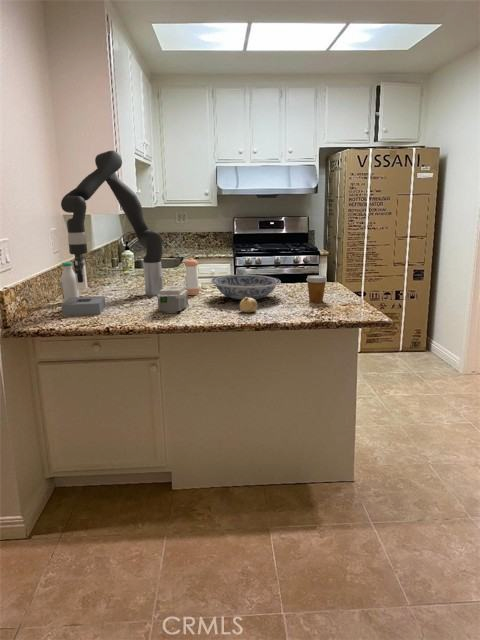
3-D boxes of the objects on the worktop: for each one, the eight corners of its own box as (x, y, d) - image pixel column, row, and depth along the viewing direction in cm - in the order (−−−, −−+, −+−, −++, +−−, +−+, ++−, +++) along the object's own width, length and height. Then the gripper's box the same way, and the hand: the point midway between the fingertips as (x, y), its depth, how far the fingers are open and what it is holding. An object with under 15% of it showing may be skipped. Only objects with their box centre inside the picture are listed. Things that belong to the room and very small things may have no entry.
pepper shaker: (197, 296, 237) (195, 259, 232) (183, 295, 238) (181, 258, 233) (201, 293, 244) (199, 257, 239) (188, 292, 245) (186, 257, 240)
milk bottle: (83, 301, 229) (78, 261, 224) (72, 304, 222) (68, 263, 217) (70, 300, 231) (65, 261, 226) (59, 304, 224) (55, 263, 219)
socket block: (105, 306, 217) (104, 296, 216) (100, 314, 202) (99, 303, 201) (70, 307, 215) (69, 297, 214) (62, 316, 200) (61, 305, 199)
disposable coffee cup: (328, 300, 222) (329, 275, 219) (323, 304, 214) (323, 278, 210) (309, 298, 226) (309, 274, 223) (303, 302, 217) (303, 277, 214)
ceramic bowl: (283, 306, 212) (284, 284, 209) (209, 307, 211) (209, 286, 209) (277, 291, 245) (277, 272, 242) (213, 292, 245) (212, 274, 242)
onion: (239, 310, 206) (239, 294, 204) (257, 309, 206) (257, 294, 204) (239, 314, 198) (239, 298, 196) (257, 314, 198) (257, 298, 196)
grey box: (154, 315, 196) (153, 292, 194) (166, 305, 224) (165, 284, 222) (181, 315, 195) (180, 292, 194) (190, 304, 223) (189, 284, 222)
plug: (87, 287, 208) (85, 261, 205) (86, 289, 204) (83, 262, 201) (78, 287, 208) (75, 261, 205) (76, 289, 204) (73, 262, 201)
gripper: (83, 244, 194) (87, 283, 199) (89, 241, 208) (92, 278, 212) (65, 244, 194) (69, 284, 198) (72, 241, 207) (76, 279, 212)
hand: (81, 281), depth 205 cm, fingers closed on plug, 4 cm apart
